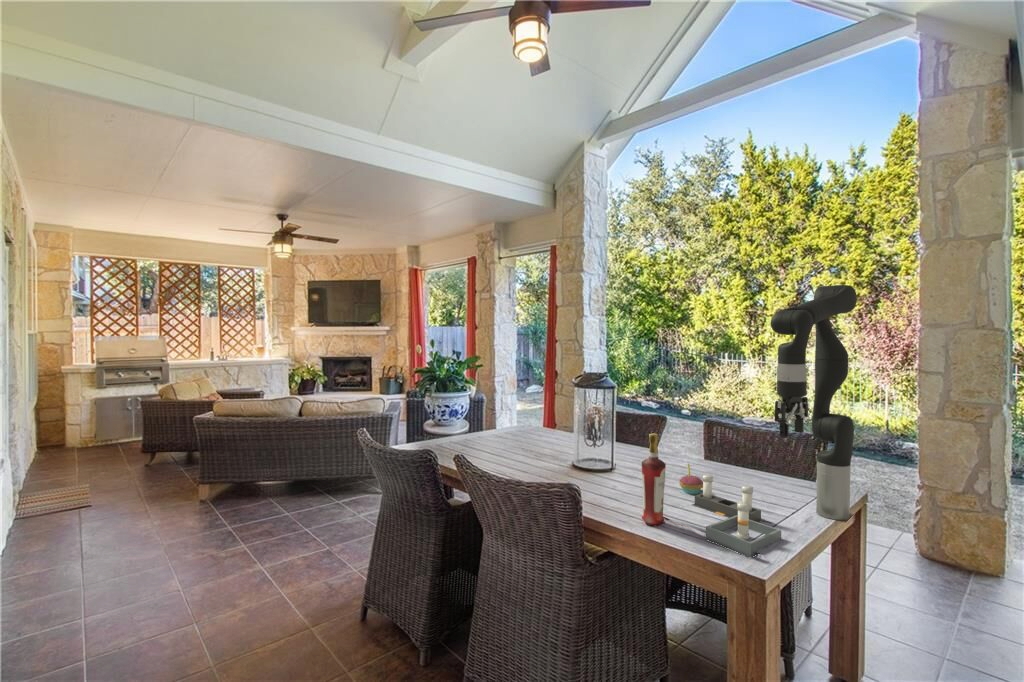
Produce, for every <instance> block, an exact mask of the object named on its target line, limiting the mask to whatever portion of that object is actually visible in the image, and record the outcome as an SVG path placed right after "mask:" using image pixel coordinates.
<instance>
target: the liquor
mask: <svg viewBox="0 0 1024 682" xmlns="http://www.w3.org/2000/svg"><path fill="white" fill-rule="evenodd" d="M648 437H649V452H648V458H645V459H643V461H641V485H642V503H643V504H642V513H643V515H642V516H641V520H643V521H644V523H646V524H647V525H649V524H651V525H650V526H654V525H656V526H659V524H660V525H661V524H662V523H664V522H665V517H664V501H665V500H664V499H665V498H664V497H665V484H666V465H667V464H666V462H664V461H663V460H661V459H660V458H659V452H658V451H659V450H658V447H659V446H658V444H659V443H658V442H659V434H657V433H649V434H648Z"/></svg>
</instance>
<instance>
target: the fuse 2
mask: <svg viewBox="0 0 1024 682" xmlns="http://www.w3.org/2000/svg"><path fill="white" fill-rule="evenodd" d="M741 493H742V494H741V495H742V496H741V498H742V502H744V503H748V504H749V505H750V511H749V513H750V512H752V507H753V494H754V487H753V486H751V485H741Z"/></svg>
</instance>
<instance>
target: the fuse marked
mask: <svg viewBox="0 0 1024 682" xmlns="http://www.w3.org/2000/svg"><path fill="white" fill-rule="evenodd" d="M737 509H738V525H737V531H736V537H738V538H741V539H744V540H749V539H750V533H749V530H750V529H749V511H750V505H749V504H748V503H744V502H741V501H739V502H737Z"/></svg>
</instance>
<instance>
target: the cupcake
mask: <svg viewBox="0 0 1024 682" xmlns="http://www.w3.org/2000/svg"><path fill="white" fill-rule="evenodd" d="M690 468H691V467H690V463H689V462H687V473H688V475H683V476H682V477H681V478H680V479H679V483H678V484H679V486H680V487H681V489H682V491H683V493H685V494H690V495H698V494H700V491H701V489H703V479H701V478H699V477H697V476H696V475H695V476H694V475H691V469H690Z"/></svg>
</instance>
